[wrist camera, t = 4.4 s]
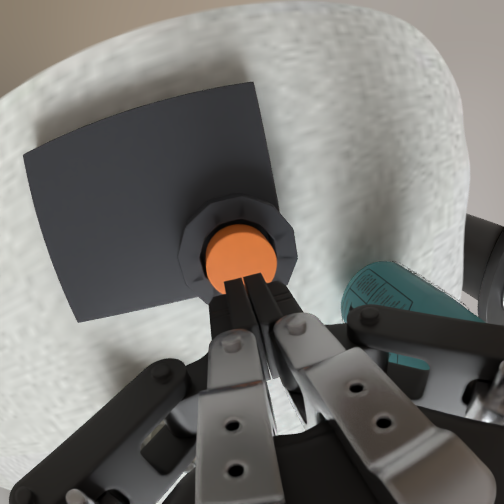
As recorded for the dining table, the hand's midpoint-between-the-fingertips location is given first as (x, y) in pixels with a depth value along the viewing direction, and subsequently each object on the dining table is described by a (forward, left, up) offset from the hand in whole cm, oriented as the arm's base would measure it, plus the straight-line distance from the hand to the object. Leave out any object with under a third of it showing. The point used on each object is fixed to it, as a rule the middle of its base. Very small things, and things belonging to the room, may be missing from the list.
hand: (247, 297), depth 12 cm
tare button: (0, 0, -5) cm, 5 cm away
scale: (+4, -3, -8) cm, 10 cm away
